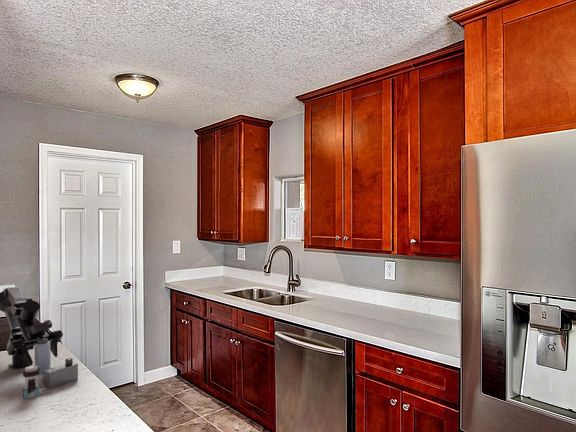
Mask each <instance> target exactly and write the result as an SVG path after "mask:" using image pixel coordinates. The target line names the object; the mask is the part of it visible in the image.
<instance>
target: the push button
mask: <svg viewBox="0 0 576 432" xmlns="http://www.w3.org/2000/svg"><path fill="white" fill-rule="evenodd" d="M39 371H40V368H38V367H37V366H36V365H35V364H34V365H33V364H31V365H28V366H25V368H24V369H23V370H22V371H21V373H22V377H23V378H24V379H25V380H24V381H25V382H24V388H23V389H22V398H23V399H24V400H26V399H31V398H35V397H39V396H40V395H41V394H42V393H45V390H46V388H45V387H44V388H40V386H39V385H37V375H38V374H39Z"/></svg>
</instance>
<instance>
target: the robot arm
mask: <svg viewBox="0 0 576 432" xmlns="http://www.w3.org/2000/svg"><path fill="white" fill-rule="evenodd" d="M40 307H41V304H40V303H39V302H37V301H36V300H33V298H28V297H27V298H26V297H24V296H23V294H22V293H21V292H20V291H19V287H17V286H11V287H6V288H3V290H2V291H1V292H0V311H1V312H3V313H4V314H5V317H6V320H7V324H8V326H9V329H10V336H9V339H8V341H7V345H6V352H7V355H8V356H11V357H12V358H11V361H12V363H10V364H8V367H9V368H12V369H14V370H15V369H20V368H23V367H28V366H32V365H33V364H34V362H33V359H32V357H31V354H30V353H29V351H30V350H34V349H35V343H37V340H39V339H44V338H46V339H48V341H50V353H52V355H53V356H54V358H57V357H58V343H59V342H60V340H61V339H62V338H63V335H64V333H63V331H62V330H60V329H57V330H54V331H50V333H49V334H48V335H47V336H45V335H46V332H47V331H49V330H50V329H51V328H52V327H53V322H52V321H51V320H50V319H46V320H45V321H43V322H40V323H37V321H36V319H37V316H38V314H39V311H40Z"/></svg>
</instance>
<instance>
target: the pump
mask: <svg viewBox="0 0 576 432" xmlns="http://www.w3.org/2000/svg"><path fill="white" fill-rule="evenodd" d="M51 362H52V361H51V350H50V341H48V339H46V338H44V339H39V340H37V343H35V345H34V365H36V366H37V367H38V368H40V371H39V374H42V375H44V370H47V369H50V368H52V367H51V366H52V365H51Z"/></svg>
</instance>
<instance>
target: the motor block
mask: <svg viewBox="0 0 576 432" xmlns="http://www.w3.org/2000/svg"><path fill="white" fill-rule="evenodd" d="M73 360H74V359H73V358H71V357H69V358H68V357H67V358H66V359H65V361H64V364H61V365H57V366H55V367H51V368H50V369H47V370H44V375H42V374H38V375H37V385H38V387H42V388H43V387H44V388H45V389H48V390H53V389H55V388H58V387H61V386H64V385H67V384H71V383H73V382H75V381H78V380H79V365H78V363H76V362H73Z"/></svg>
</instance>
